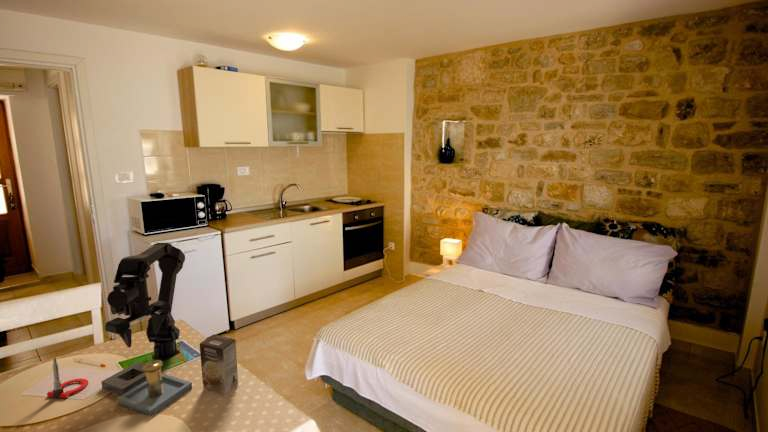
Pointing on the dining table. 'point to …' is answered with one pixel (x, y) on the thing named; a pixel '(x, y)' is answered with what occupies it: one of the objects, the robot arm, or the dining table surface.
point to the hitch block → (119, 382)
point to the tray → (150, 406)
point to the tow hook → (58, 386)
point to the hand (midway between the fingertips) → (143, 340)
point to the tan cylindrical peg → (153, 378)
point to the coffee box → (219, 364)
